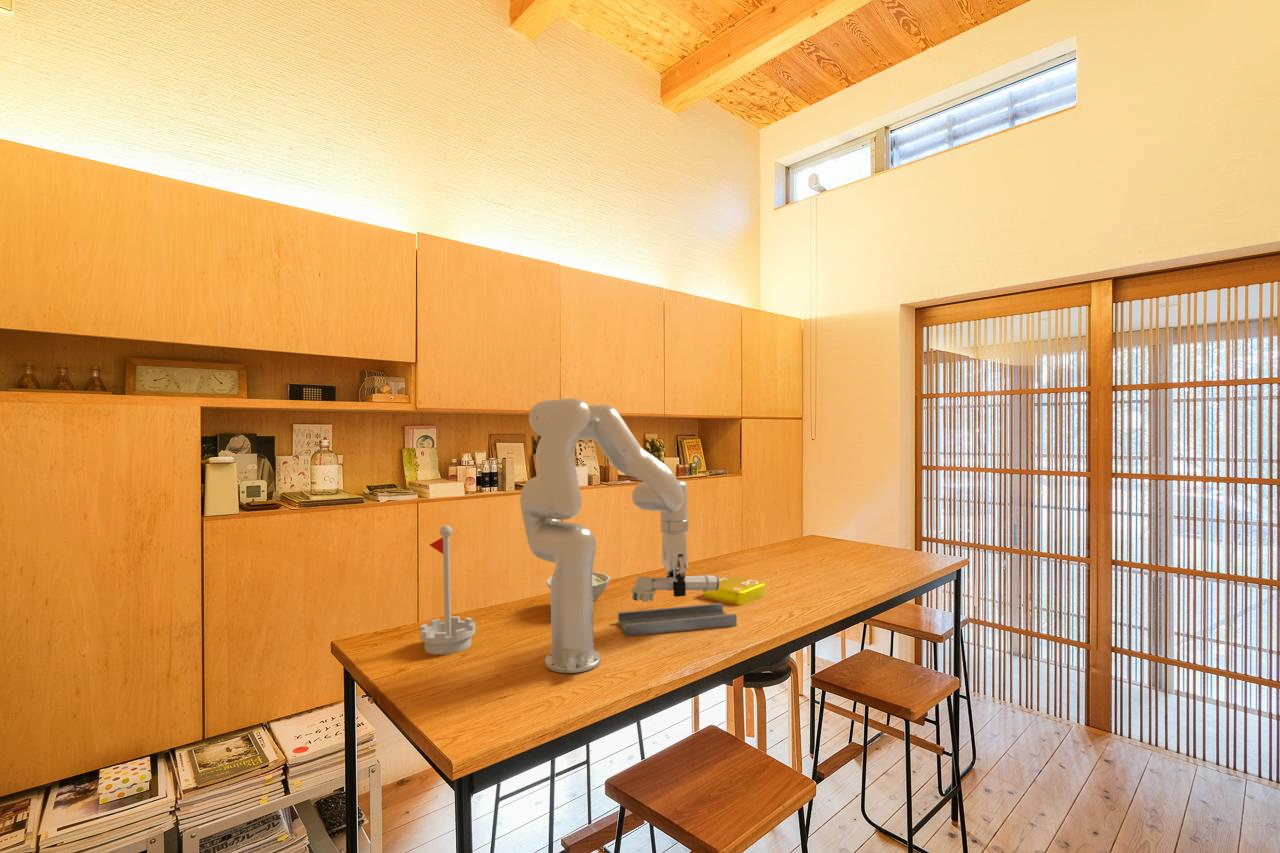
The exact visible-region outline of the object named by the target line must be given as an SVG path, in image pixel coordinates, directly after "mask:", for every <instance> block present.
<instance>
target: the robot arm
mask: <svg viewBox="0 0 1280 853" xmlns="http://www.w3.org/2000/svg"><path fill="white" fill-rule="evenodd" d="M528 423H529V425H530V427H531V429H532V431H534V433H535V434H537V435H538V436H541V437H540V439H539V440H538V444H537V446H536V452H535V463H536V469H537V470H536V472H537V476H534V477H532V478H530V479H528V481H526V482H525V484H524V485H523V487H522V489H521V492H520V498H519V499H520V500H519V503H520V510H521V516H522V522H523V525H524V530H525V534H526V535H525V536H526V540H527V544H528V547H529V549H530V552H532V554H533V555H534V556H535V557H536V558H537V559H540V560H542V561H546V562H551V563H554V564H555V566H554V567H555V568H554V571H553V574H552V575H551V576H552V579H551V586H550V588H549V590H550V623H551V624H550V626H551V629H550V630H551V637H550V638H551V653H549V654H547V655H546V656H545V658H544V666H545V667H546V668H547V669H548V670H550V671H553V672H555V673H560V674H561V673H562V674H577V673H582V672H583V673H584V672H587V671H590V670H593V669H595V668H596V667H598V666H599V665H600V663H601V661H602V660H601V659H602V656H601V654H600V652H598V651H597V650H595V648H594V603H593V592H592V575H593V572H594V571H593V570H594V562H595V557H596V550H597V549H596V548H597V541H596V537H595V535H594V534H593V532H592V531H591V530H590V529H589V528H588V527H586V526H584V525H582V524H579V523H574V522H570V521H569V522H568V521H565V520H570V519H573V518H575V517H576V516H578V514H579V513H580V511H581V509H582V508H581V507H582V496H581V490H580V484H579V480H578V475H577V474H578V472H577V469H576V461H575V449H576V446H577V444H578V442H579V440H584V441H585V440H588V441H589V440H590V441H591V440H592V441H594V442H595V443H596V444H597V446H598V447H599V448H600V449H601V451H602V453H603V454H604V456H605V457H606V458H607V459H608V461H609V462H610V464H611V465H612V467H613V468H614V469H616V470H617V471H619V472H621V473H623V474H625V475H626V476H630V477H633V478H635V479H637V480H639V481H641V482H640V483H639V484H637V485H635V487H634V488H633V491H632V495H631V498H632V502H633V504H634V505H635V506H636V507H637V508H638V509H640V510H644V511H649V512H651V511H652V512H660V532H661V533H662V536H661V564H662V565H663V566H664V567H665V568H666V578H667V577H674V581H673V590H672V592H673V596H674V598H678V597H685V596H686V592H687V590H686V588H685V577H686V574H687V573H686V572H687V569H688V566H689V565H688V564H689V563H688V562H689V561H688V559H689V556H688V543H687V533H688V532H689V505H688V504H689V501H688V495H689V494H688V493H689V492H688V485H687V482H686V481H684V480H681V479H680V480H679V479H677V477H676V476H675V474H674V473H673V471H672V470H671V469H670V468H669V467H668V466H667V465H666V464H665V463H664V462H663V461H661V460H660V459H658V458H657V457H655V456H654V455H653V454H652V453H650V452H648V451H647V450H646V449H644V448H643V447H642V446H641V444H640V443H639V442H638V440H637V438H635V435H634V434H633V433H632V431H631V430H630V428H629V427H628V425H627V423H626V422H625V420H624V419H623V418H622V416H621V415H620V413H619V412H618V411H617V409H615V407H613V406H611V405H608V404H595V405H594V404H592V405H588V404H587V403H586V402H585V401H584V400H582V399H579V398H570V397H569V398H559V399H548V400H542V401H539V402H537V403H536V404H534V405H533V407H532V408H530V411H529V415H528ZM561 520H562V521H561ZM668 591H671V590H668Z"/></svg>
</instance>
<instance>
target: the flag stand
mask: <svg viewBox="0 0 1280 853" xmlns="http://www.w3.org/2000/svg"><path fill="white" fill-rule="evenodd" d="M452 533H453V529H452V527H451V526H450V525H447V524H446V525H443V526H441V528H440V529H439V534H440V535H441V538H439V539H437V540H436V541H434V542H432V543H430V544H429V546H430V547H432V548H433V549H435V550H436V551H438V552H439V553H440V554H442V555H443V556H442V557H443V559H442V561H443V563H442V564H443V604H444V605H443V611H444V612H443V614H444V617H443V618H444V621H443V622H442V619H441V618H435V619H432V620H430V622H429V623H430V624H429V625H428V623H423V624H421V625H420V627H419V639H420V640H421V641H422V642H423V643H424V651H425V653H427V654H431V655H436V656H437V655H438V654H440V655H441V656H442V654H443V655H451V654H455V653H458V652H462V651H465V650H467V649H468V648H470V647H471V645H472V636H474V634H476V622H475V621H474V619H473V618H471V617H468V616H467V617H466V618H464V620H461V616H460V615H459V616H458V615H457V616H452V615H451V614H452V610H451V608H452V606H451V602H452V601H451V563H450V562H451V561H450V560H451V558H450V557H451V556H450V552H451V551H450V548H451V547H450V536H452Z"/></svg>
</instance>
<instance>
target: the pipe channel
mask: <svg viewBox="0 0 1280 853" xmlns="http://www.w3.org/2000/svg"><path fill="white" fill-rule="evenodd" d="M617 618H618V619H617V623H618V625H619V624H620V625H619V626H620V628H621V630H622V631H624V632H623V633H624V636H625V637H627V638H628V637H635V636H636V637H637V636H644V635H645V636H647V635H654V634H665V633H666V634H667V633H676V631H678V632H685V631H686V630H688V631H696V630H695V629H698V630H706V629H705V628H708V629H714V627H718V628H725V627H726V628H727V626H728V627H736V626H737V625H738V623H737V614H736V613H731V614H730V613H729V614H728V613H726V611H724V603H723V602H718V603H717V602H716V603H708V604H707V603H706V604H697V605H686V606H685V605H684V606H674V607H673V606H672V607H660V608H650V609H641V610H640V609H639V610H631V611H629V610H628V611H619V612H617Z"/></svg>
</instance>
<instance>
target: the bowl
mask: <svg viewBox="0 0 1280 853" xmlns="http://www.w3.org/2000/svg"><path fill="white" fill-rule="evenodd" d="M552 576H553V575H551V576H550V577H548V578H547V579H546V580H545V583H546V585H547V586H548V588H549V589H550V586H551V579H552ZM610 581H611V576H609V575H608V574H607V573H603V572H598V571H597V572H596V571H593V575H592V592H593V604H595V603H596V601H598V599H599V598H600V597H601V596H602V594H603V593H604V592H605V590H606V589H607V587H608V585H609V583H610Z"/></svg>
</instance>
